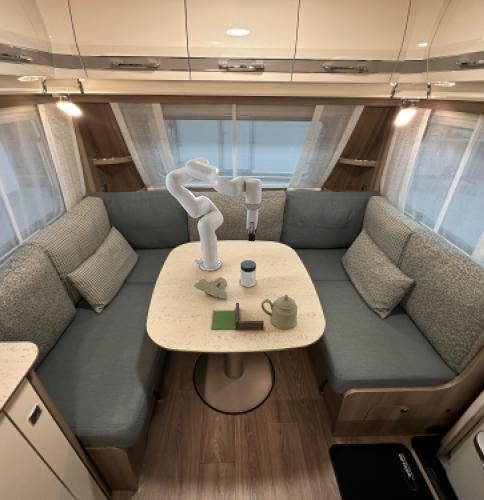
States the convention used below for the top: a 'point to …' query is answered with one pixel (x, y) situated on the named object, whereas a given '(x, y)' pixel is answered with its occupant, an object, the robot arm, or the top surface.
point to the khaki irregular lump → (213, 287)
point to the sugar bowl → (282, 312)
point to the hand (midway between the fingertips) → (252, 236)
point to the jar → (248, 273)
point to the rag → (223, 320)
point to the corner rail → (247, 323)
